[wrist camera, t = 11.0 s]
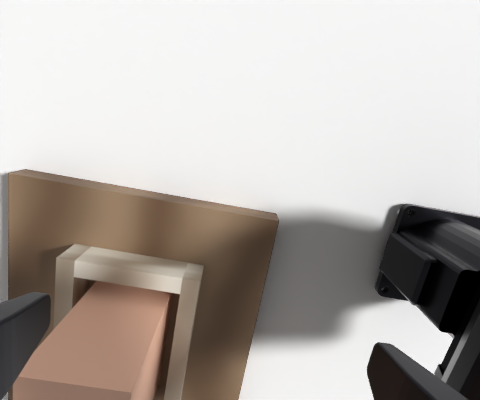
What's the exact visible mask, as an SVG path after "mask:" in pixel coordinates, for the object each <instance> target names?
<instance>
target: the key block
mask: <svg viewBox="0 0 480 400" xmlns="http://www.w3.org/2000/svg"><path fill="white" fill-rule="evenodd" d="M171 300H172V293H170V292H164V291H158V290H151V289H145V288H139V287H133V286H127V285H121V284H114V283H108V282H102V281H96V282H95V283H94V284H93V286H92V287H91V288H90V289H89V290H88V291H87V292H86V294H85V295H84V296H83V297H82V298H81V299H80V300H79V301H78V303H77V304H76V305H75V306H74V307H73V308H72V309H71V310H70V312H69V313H68V314H67V315H66V316H65V317H64V318H63V320H62V321H61V322H60V323H59V324H58V325H57V326H56V327H55V329H54V330H53V331H52V332H51V333H50V334H49V335H48V336H47V338H46V339H45V340H44V341H43V342H42V343H41V344H40V346H39V347H38V348H37V349H36V350H35V351H34V352H33V354H32V356H31V357H30V359H29V360H28V362H27V363H26V365H25V367H24V368H23V370H22V371H21V373H20V375H19V376H18V378H17V379H16V381H15V382H14V384H13V400H153V399H154V396H155V392H156V389H157V386H158V383H159V379H160V376H161V370H162V363H163V356H164V349H165V342H166V335H167V328H168V321H169V314H170V307H171Z"/></svg>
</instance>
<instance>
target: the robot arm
mask: <svg viewBox="0 0 480 400" xmlns="http://www.w3.org/2000/svg"><path fill="white" fill-rule="evenodd" d="M410 209H411V210H412V212H411V214H409V215H407V212H408V210H410ZM383 287H386V288H385V289H384V290H381V289H382V288H383ZM375 289H376V291H377V293H378V294H379V295H380V296H383V297H389V298H395V299H401V300H407V301H409V302H410V303H411V304H413V305H416V306H417V307H418V308H419V309H420V310H421V311H422V312H423V314H424V315H425V316H426V317H427V318H428V319H429V320H430V321H431V322H432V323H433V324H434V325H435V326H436V327H437V328H438V329H439V330H440V331H442V332H446V333H448V334H449V335H450V336H451V337H452V338H453V341H452V343H451V345H450V347H449V349H448V351H447V353H446V356H445V358H444V360H443V362H442V364H439V365H438V367H437V369H436V371H435V375H434V374H432V373H431V372H429V371H428V370H427V369H425V368H424V367H422V366H421V365H420V364H418V363H417V362H416V361H414V360H413V359H411V358H410V357H409V356H407V355H406V354H404V353H403V352H402V351H400V350H399V349H398V348H396V347H395V346H393V345H391V344H387V343H380V342H378V343H376V344H375V345H374V347H373V350H372V354H371V357H370V360H369V363H368V366H367V375H368V379H369V383H370V386H371V390H372V394H373V397H374V400H480V217H479V216H473V215H468V214H462V213H457V212H451V211H446V210H440V209H435V208H430V207H424V206H419V205H413V204H406V205H404V206H403V207H402V208H401V209H400V212H399V215H398V218H397V221H396V224H395V227H394V230H393V233H392V234H391V235H390V237H389V240H388V243H387V246H386V249H385V252H384V255H383V258H382V261H381V264H380V273H379V276H378V279H377V282H376V285H375ZM50 321H51V297H50V295H49V294H46V293H39V292H31V293H28V294H25V295H23V296H20V297H17V298H14V299H11V300H8V301H5V302H2V303H0V400H2V398H3V397H4V396H5V395H6V393H7V392H8V390H9V389H10V388H11V386H12V385H13V384H14V382H15V381H16V379H17V378H18V376H19V375H20V373H21V371H22V370H23V368H24V367H25V365H26V363H27V362H28V360H29V359H30V357H31V356H32V354H33V352H34V351H35V349H36V348H37V346H38V344H39V343H40V341H41V340H42V338H43V336H44V335H45V333H46V332H47V330H48V328H49V325H50Z"/></svg>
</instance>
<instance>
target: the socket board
mask: <svg viewBox="0 0 480 400" xmlns="http://www.w3.org/2000/svg"><path fill="white" fill-rule="evenodd" d="M278 223H279V220H278V217H277V215H276V214H275V213H269V212H264V211H258V210H252V209H247V208H241V207H235V206H230V205H224V204H218V203H213V202H207V201H202V200H196V199H190V198H185V197H179V196H173V195H168V194H162V193H157V192H151V191H145V190H140V189H134V188H128V187H123V186H117V185H112V184H106V183H100V182H95V181H89V180H83V179H78V178H72V177H67V176H61V175H55V174H50V173H44V172H38V171H33V170H27V169H24V170H20V171H16V172H11V173H8V300H11V299H14V298H17V297H20V296H23V295H25V294H28V293H31V292H39V293H46V294H49V295H50V297H51V321H50V325H49V328H48V330H47V332H46V333H45V335H44V336H43V338H42V340H41V341H40V343H39V344H38V346H37V348H38V347H39V346H40V344H41V343H42V342H43V341H44V340H45V339H46V338H47V336H48V335H49V334H50V333H51V332H52V331H53V330H54V329H55V327H56V326H57V325H58V324H59V323H60V322H61V321H62V320H63V318H64V317H65V316H66V315H67V314H68V313H69V312H70V310H71V309H72V308H73V307H74V306H75V305H76V304H77V303H78V301H79V300H80V299H81V298H82V297H83V296H84V295H85V294H86V292H87V291H88V290H89V289H90V288H91V287H92V286H93V284H94V283H95V282H96V281H102V282H108V283H114V284H121V285H127V286H133V287H139V288H145V289H151V290H158V291H164V292H170V293H172V300H171V307H170V314H169V321H168V328H167V335H166V342H165V349H164V356H163V363H162V370H161V376H160V379H159V383H158V386H157V389H156V392H155V396H154V399H153V400H238V399H239V394H240V390H241V385H242V381H243V377H244V372H245V368H246V363H247V359H248V355H249V350H250V346H251V342H252V337H253V333H254V328H255V324H256V320H257V315H258V311H259V306H260V302H261V298H262V293H263V289H264V285H265V280H266V276H267V271H268V267H269V263H270V258H271V254H272V249H273V245H274V241H275V236H276V232H277V228H278ZM37 348H36V349H37ZM36 349H35V350H36ZM8 400H13V385H12V386H11V388H10V389H9V390H8Z"/></svg>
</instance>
